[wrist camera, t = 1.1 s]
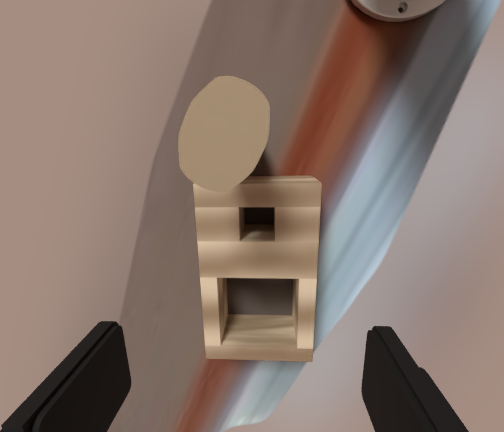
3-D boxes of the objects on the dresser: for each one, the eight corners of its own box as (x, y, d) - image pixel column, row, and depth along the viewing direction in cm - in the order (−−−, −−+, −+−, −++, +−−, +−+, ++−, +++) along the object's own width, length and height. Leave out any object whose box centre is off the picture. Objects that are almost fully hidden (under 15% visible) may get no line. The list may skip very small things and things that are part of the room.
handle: (277, 122, 29) (287, 102, 15) (251, 175, 31) (237, 204, 16) (237, 102, 29) (206, 60, 14) (213, 156, 30) (164, 169, 16)
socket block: (207, 176, 31) (193, 184, 25) (311, 175, 30) (321, 183, 24) (216, 324, 36) (206, 358, 30) (305, 326, 36) (312, 361, 30)
